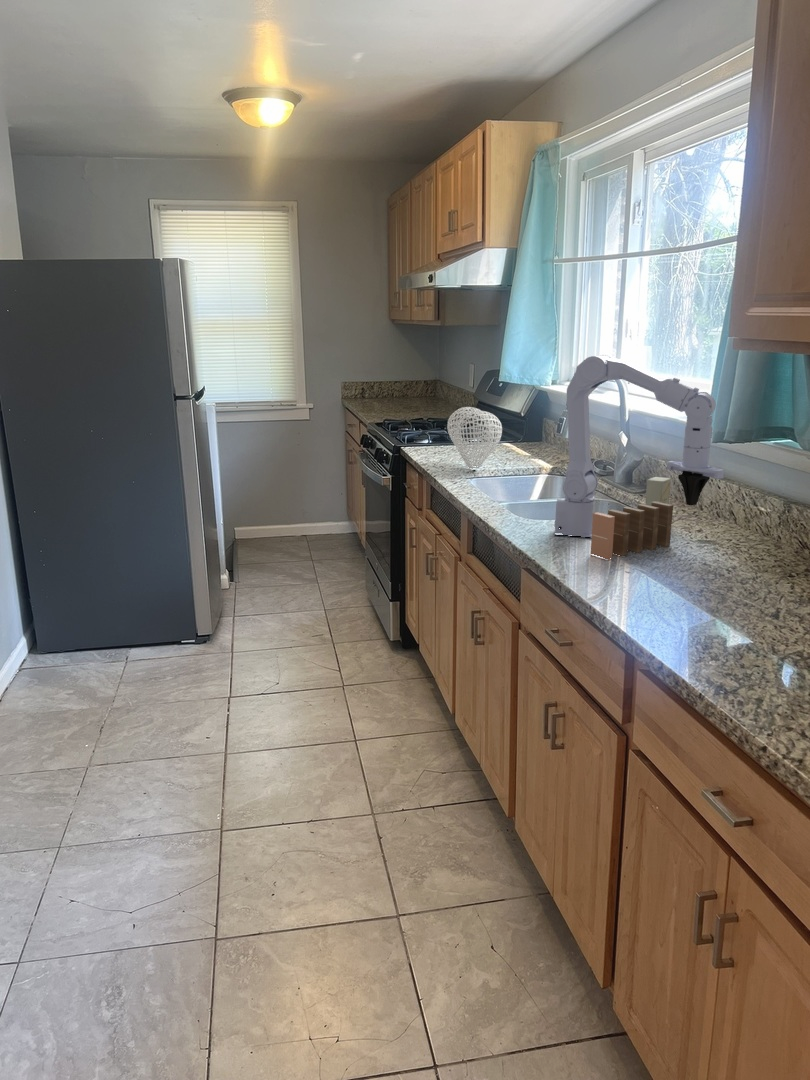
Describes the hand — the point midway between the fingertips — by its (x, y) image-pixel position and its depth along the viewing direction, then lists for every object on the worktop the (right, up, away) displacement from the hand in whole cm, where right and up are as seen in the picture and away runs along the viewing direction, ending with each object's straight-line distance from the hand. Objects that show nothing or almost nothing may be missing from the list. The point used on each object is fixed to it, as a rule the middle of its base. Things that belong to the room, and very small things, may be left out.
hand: (691, 504), depth 186 cm
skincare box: (-1, -4, +25) cm, 25 cm away
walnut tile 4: (-18, -12, -2) cm, 22 cm away
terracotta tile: (-22, -12, -5) cm, 26 cm away
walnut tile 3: (-14, -11, 0) cm, 18 cm away
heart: (-42, +16, +101) cm, 111 cm away
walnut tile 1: (-6, -9, +6) cm, 12 cm away
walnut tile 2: (-10, -10, +3) cm, 14 cm away
